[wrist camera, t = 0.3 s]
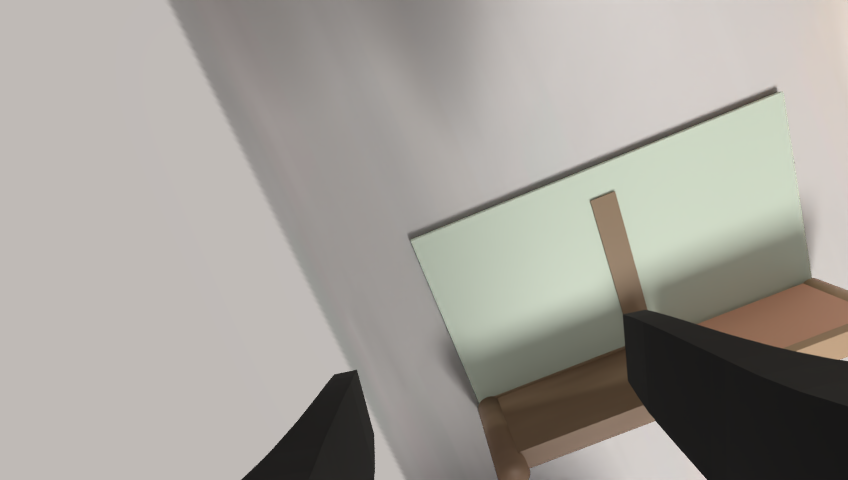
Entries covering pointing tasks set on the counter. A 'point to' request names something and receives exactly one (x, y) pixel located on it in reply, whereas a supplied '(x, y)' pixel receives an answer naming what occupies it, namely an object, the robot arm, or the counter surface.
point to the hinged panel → (794, 320)
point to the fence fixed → (560, 415)
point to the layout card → (621, 249)
